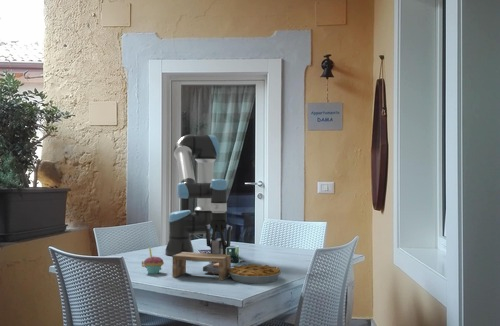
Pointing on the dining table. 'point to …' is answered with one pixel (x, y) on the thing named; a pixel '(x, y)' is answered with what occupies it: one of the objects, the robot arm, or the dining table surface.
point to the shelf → (181, 258)
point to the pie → (254, 273)
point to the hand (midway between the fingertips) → (218, 261)
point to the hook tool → (215, 250)
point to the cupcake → (153, 264)
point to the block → (216, 266)
